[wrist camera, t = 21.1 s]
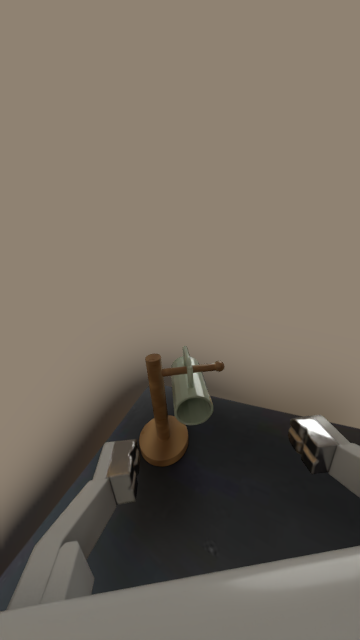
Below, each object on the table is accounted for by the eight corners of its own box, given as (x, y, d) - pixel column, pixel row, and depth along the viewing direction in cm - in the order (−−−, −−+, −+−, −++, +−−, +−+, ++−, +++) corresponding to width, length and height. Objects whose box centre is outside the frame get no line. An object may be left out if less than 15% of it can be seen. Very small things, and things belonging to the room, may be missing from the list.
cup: (200, 378, 41) (213, 422, 31) (172, 381, 40) (176, 427, 30) (198, 337, 37) (213, 372, 27) (167, 341, 37) (170, 377, 26)
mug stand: (137, 470, 30) (117, 378, 24) (142, 423, 39) (128, 347, 33) (231, 456, 31) (234, 365, 25) (216, 413, 40) (216, 337, 34)
